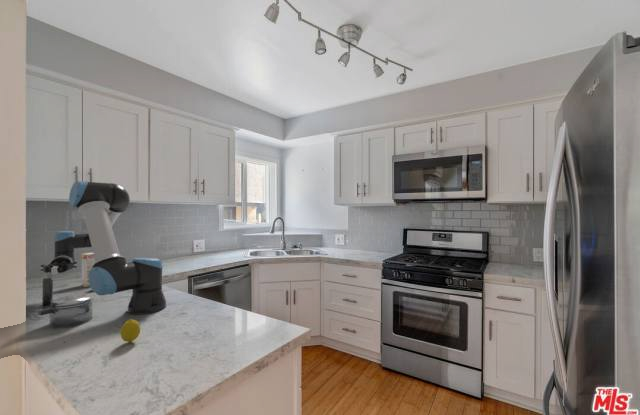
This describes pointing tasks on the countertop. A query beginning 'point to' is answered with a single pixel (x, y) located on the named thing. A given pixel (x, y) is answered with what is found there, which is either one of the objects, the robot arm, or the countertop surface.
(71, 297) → the lid
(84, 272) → the coffeecake box
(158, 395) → the countertop surface
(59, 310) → the pot
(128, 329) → the lemon
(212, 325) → the countertop surface
